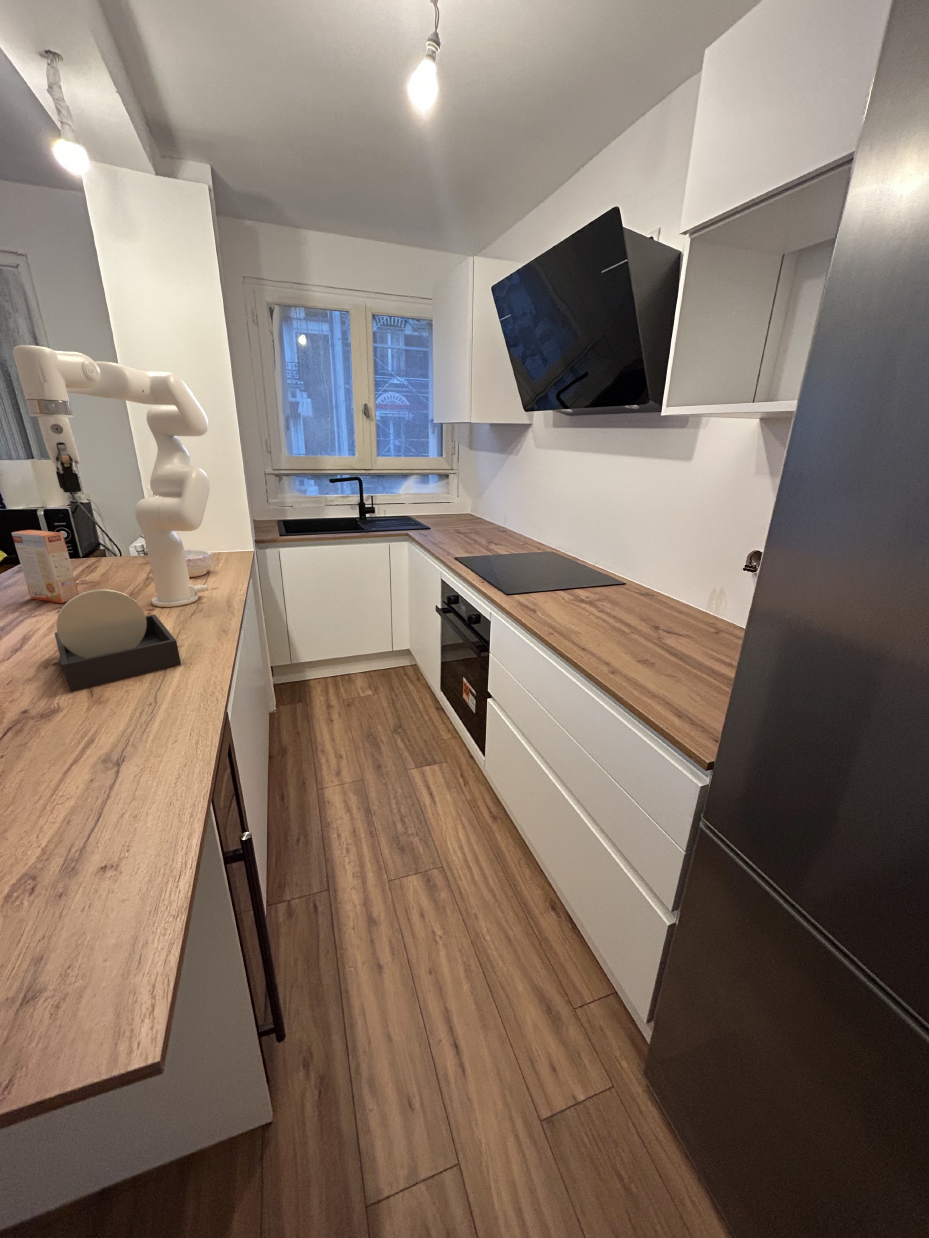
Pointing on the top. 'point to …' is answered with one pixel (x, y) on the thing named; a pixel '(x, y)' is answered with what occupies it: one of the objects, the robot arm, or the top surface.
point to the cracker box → (46, 565)
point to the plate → (100, 623)
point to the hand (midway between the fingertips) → (70, 490)
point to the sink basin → (122, 659)
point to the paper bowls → (198, 562)
